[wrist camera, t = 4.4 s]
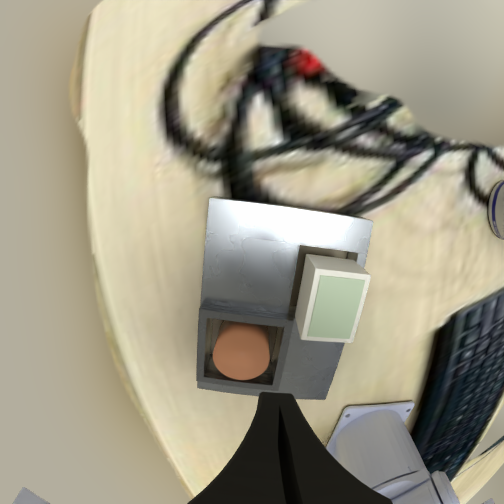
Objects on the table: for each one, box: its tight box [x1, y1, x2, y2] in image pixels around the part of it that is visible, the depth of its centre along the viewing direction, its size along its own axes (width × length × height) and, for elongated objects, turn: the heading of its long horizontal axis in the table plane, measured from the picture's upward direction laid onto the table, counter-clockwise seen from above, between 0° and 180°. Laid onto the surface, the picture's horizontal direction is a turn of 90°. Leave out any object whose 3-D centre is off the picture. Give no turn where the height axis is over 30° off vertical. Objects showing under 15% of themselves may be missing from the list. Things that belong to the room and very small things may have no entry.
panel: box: [196, 197, 373, 400], centre depth 18 cm, size 14×10×3 cm
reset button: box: [213, 320, 270, 380], centre depth 18 cm, size 4×4×3 cm
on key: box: [295, 254, 371, 343], centre depth 15 cm, size 4×3×3 cm
